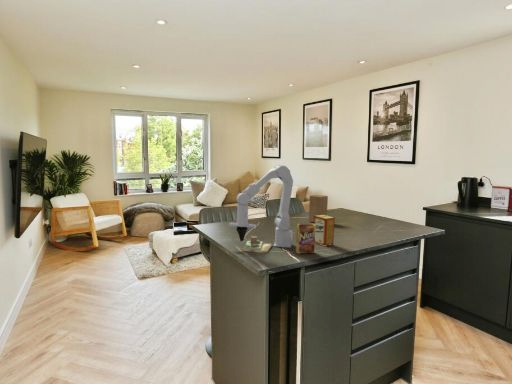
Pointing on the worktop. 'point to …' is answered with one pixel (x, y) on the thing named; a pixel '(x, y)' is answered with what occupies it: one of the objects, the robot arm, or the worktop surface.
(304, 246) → the candy box
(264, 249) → the stud board
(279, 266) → the worktop surface
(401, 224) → the worktop surface
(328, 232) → the baking soda box
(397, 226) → the worktop surface
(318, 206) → the wooden block
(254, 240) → the keyhole panel
